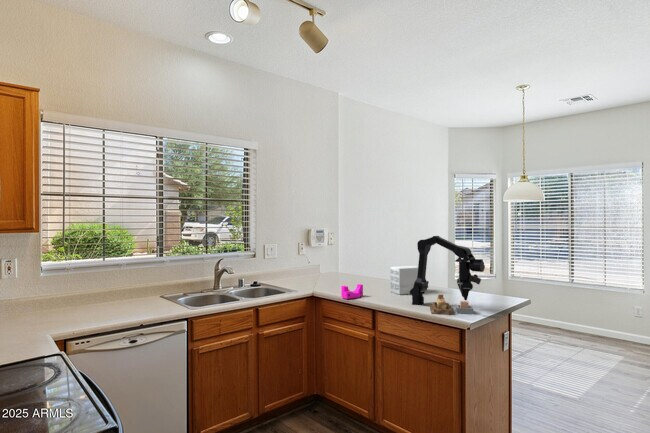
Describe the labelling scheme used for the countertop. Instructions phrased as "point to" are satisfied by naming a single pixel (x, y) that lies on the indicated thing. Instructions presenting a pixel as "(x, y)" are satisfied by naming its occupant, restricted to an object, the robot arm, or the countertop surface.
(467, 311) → the tail socket
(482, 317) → the countertop surface
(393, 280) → the white drawer cabinet
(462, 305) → the tail block
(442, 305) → the fuselage
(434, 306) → the jig
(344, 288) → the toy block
